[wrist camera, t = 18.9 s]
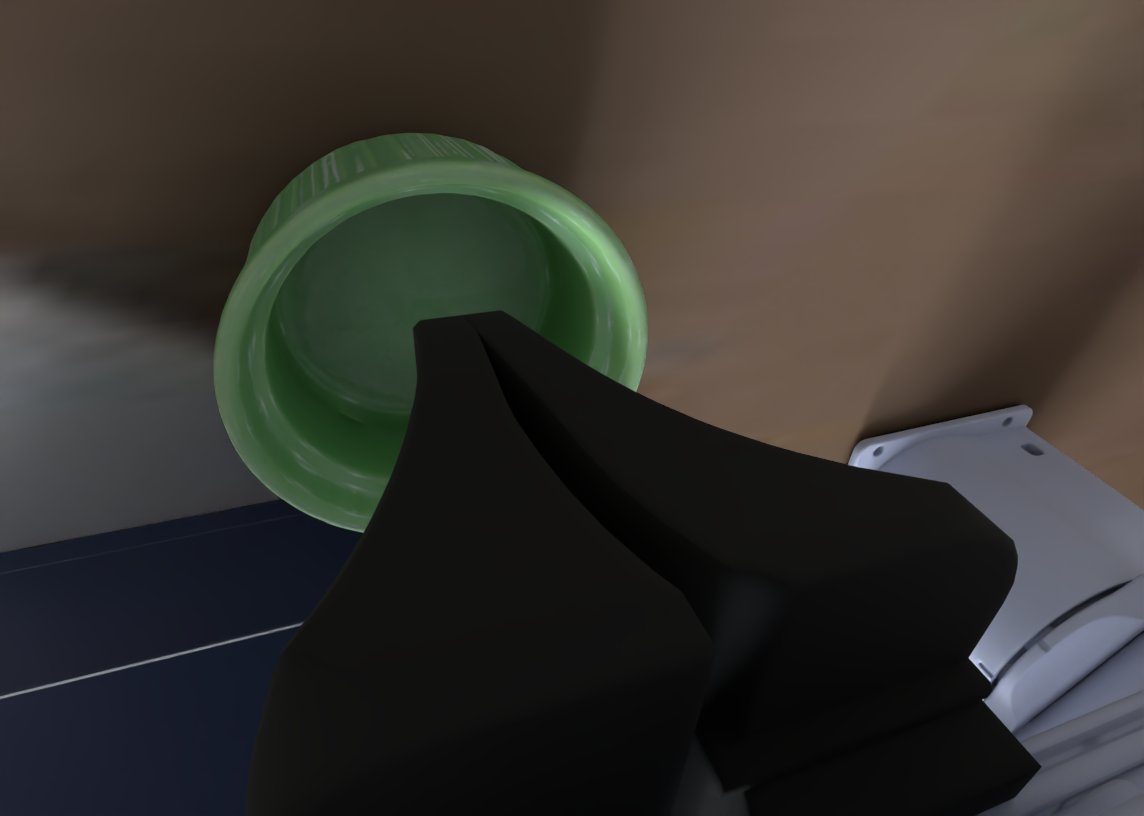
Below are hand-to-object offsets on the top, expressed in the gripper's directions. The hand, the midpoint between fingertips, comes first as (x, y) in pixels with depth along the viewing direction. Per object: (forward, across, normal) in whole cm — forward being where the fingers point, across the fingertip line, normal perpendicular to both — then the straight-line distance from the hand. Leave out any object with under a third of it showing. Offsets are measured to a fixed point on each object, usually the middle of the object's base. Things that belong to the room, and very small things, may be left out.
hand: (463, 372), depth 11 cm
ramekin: (+8, 0, +2) cm, 8 cm away
